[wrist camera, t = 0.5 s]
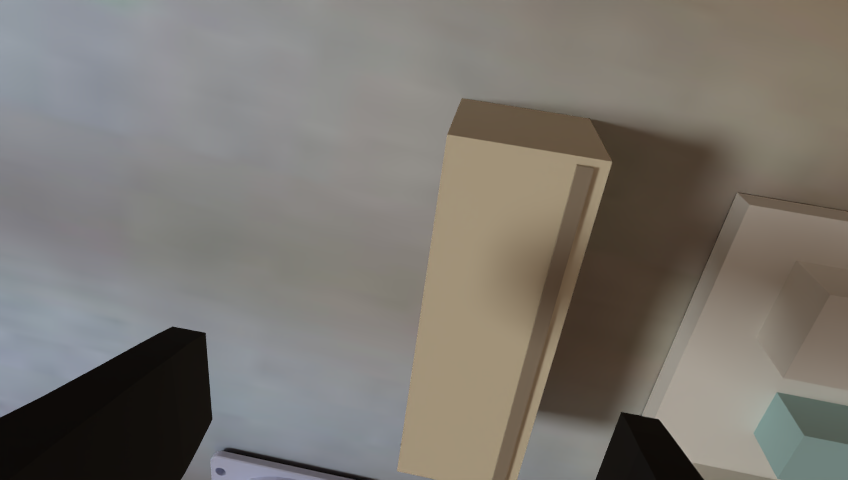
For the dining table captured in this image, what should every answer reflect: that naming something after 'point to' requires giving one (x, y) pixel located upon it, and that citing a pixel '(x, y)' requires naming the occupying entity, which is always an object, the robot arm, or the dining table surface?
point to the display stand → (764, 349)
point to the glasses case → (498, 285)
